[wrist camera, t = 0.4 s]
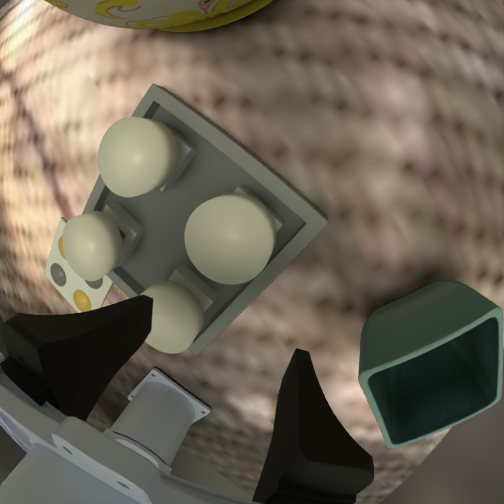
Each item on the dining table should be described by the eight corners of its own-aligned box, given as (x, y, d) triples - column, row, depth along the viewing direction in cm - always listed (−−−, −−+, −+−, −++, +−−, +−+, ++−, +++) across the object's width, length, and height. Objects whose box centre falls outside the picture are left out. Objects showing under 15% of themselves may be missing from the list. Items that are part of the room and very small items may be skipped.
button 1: (247, 277, 20) (233, 300, 17) (193, 230, 20) (169, 245, 17) (295, 225, 18) (290, 240, 15) (235, 174, 18) (217, 178, 15)
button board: (202, 345, 26) (195, 357, 24) (83, 234, 25) (71, 239, 23) (327, 217, 20) (328, 222, 18) (163, 87, 19) (151, 82, 17)
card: (92, 325, 29) (90, 327, 28) (46, 273, 28) (43, 274, 28) (117, 275, 25) (114, 277, 25) (62, 216, 25) (59, 218, 24)
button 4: (119, 276, 23) (94, 293, 20) (83, 239, 23) (56, 251, 19) (143, 234, 21) (116, 247, 18) (103, 194, 21) (73, 202, 17)
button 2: (162, 203, 20) (134, 213, 16) (118, 164, 20) (87, 167, 16) (201, 146, 18) (177, 145, 15) (151, 108, 18) (122, 102, 14)
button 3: (189, 338, 23) (172, 364, 20) (144, 300, 23) (121, 320, 20) (223, 303, 21) (206, 328, 18) (172, 259, 21) (148, 278, 18)
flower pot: (345, 297, 21) (354, 377, 13) (444, 250, 18) (504, 305, 10) (377, 372, 23) (388, 452, 14) (462, 334, 20) (500, 401, 11)
